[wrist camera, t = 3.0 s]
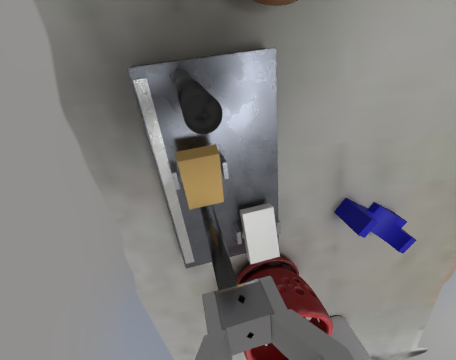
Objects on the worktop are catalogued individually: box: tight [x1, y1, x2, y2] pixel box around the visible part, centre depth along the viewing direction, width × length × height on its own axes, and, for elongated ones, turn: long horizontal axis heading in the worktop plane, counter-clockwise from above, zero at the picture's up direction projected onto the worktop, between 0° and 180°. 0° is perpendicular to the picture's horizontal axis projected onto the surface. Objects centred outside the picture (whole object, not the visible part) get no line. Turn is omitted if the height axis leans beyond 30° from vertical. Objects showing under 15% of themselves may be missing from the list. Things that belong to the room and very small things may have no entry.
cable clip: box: [335, 198, 416, 253], centre depth 39 cm, size 12×4×6 cm, turn 60°
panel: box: [128, 48, 280, 290], centre depth 23 cm, size 26×14×18 cm, turn 7°
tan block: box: [176, 144, 224, 209], centre depth 26 cm, size 7×4×2 cm, turn 7°
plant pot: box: [237, 257, 333, 360], centre depth 38 cm, size 13×13×12 cm
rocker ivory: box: [239, 203, 280, 264], centre depth 31 cm, size 7×4×2 cm, turn 6°
